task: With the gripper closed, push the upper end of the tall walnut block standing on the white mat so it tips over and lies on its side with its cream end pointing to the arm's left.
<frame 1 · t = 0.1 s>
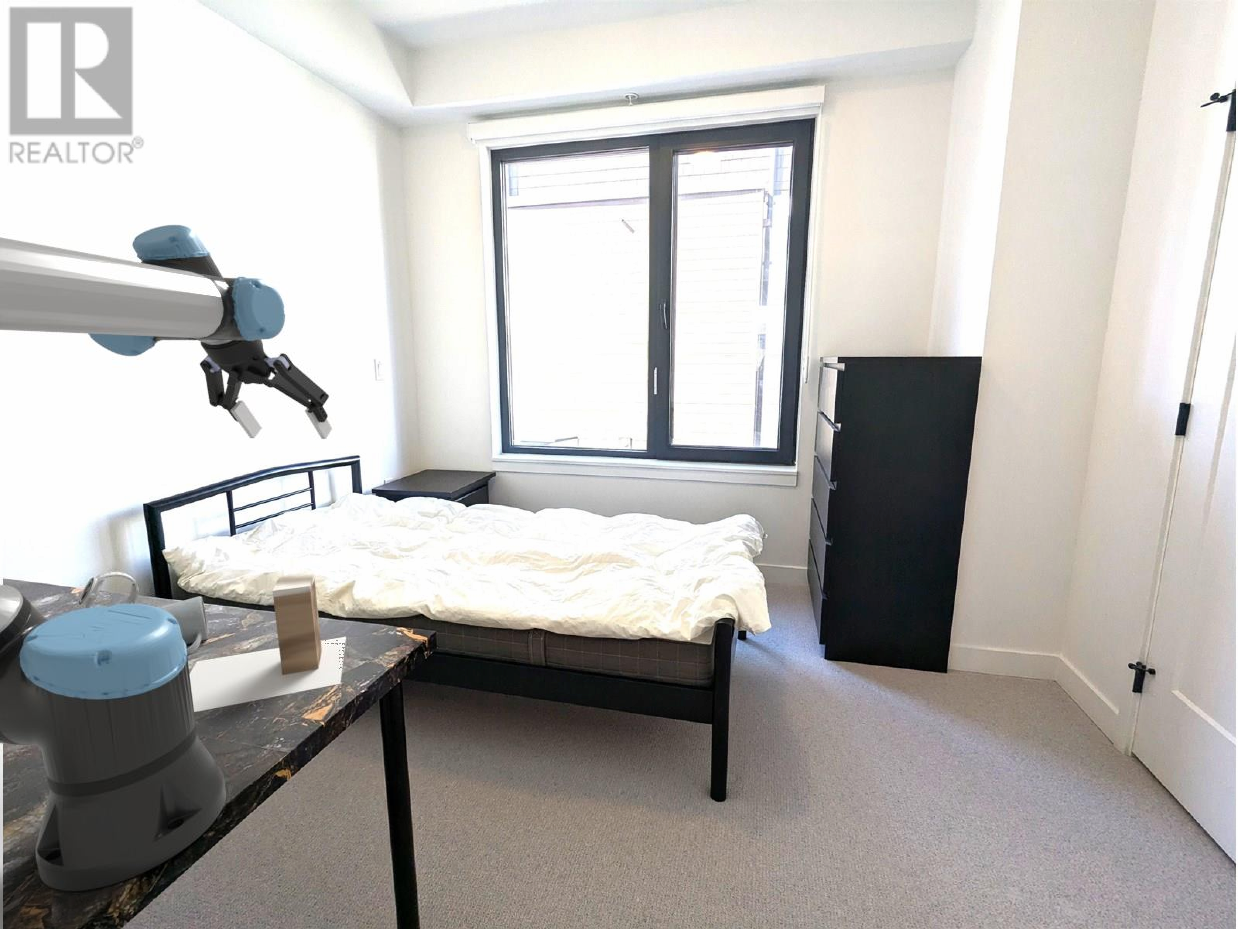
hand: (291, 433, 101), 36 cm above the table, tool tilted 35°, fingers open, 13 cm apart
white mat: (266, 674, 89), on the table
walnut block: (302, 662, 92), resting on white mat
ceramic mug: (183, 647, 98), on the table
watch: (115, 632, 103), on the table
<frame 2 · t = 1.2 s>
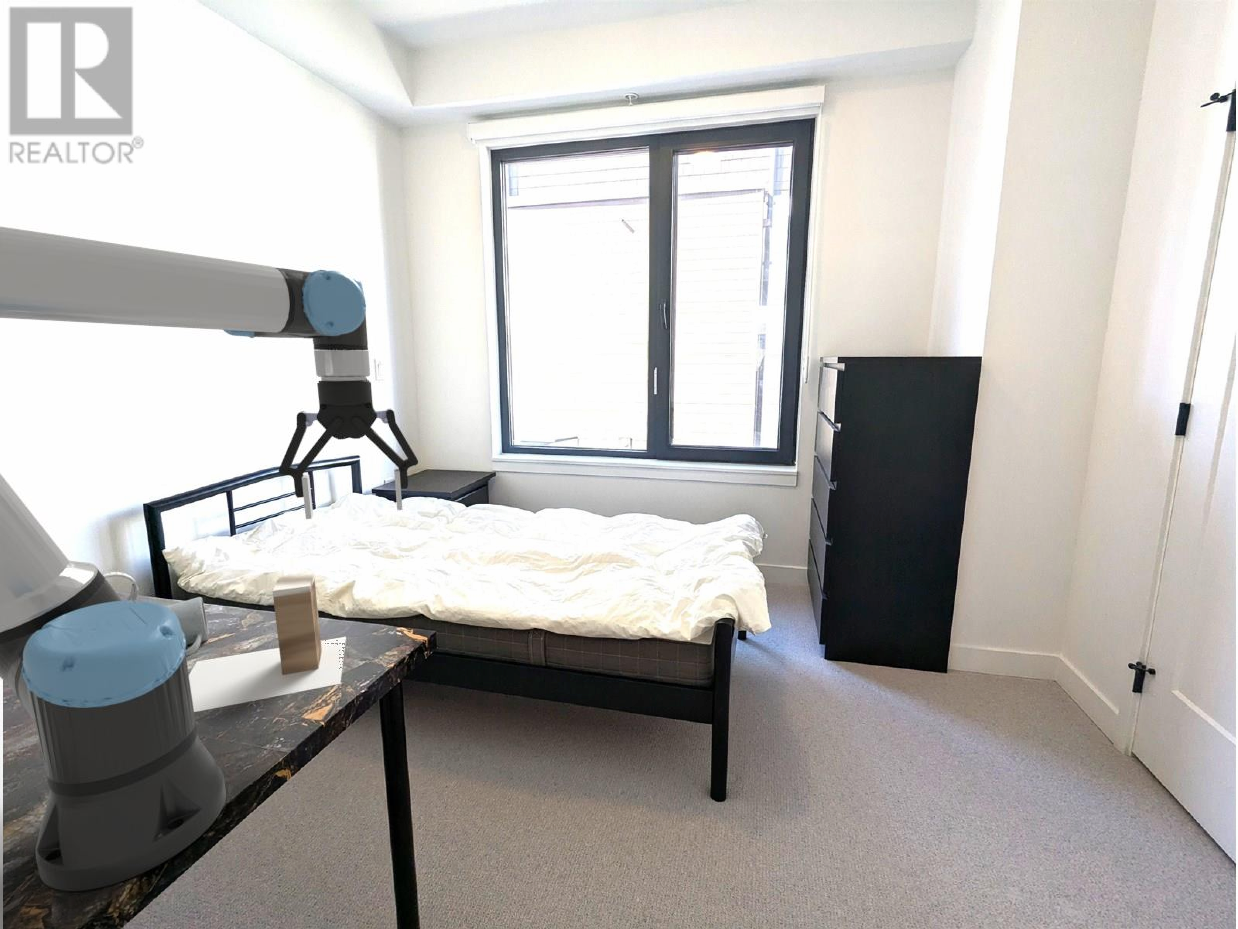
hand: (355, 512, 91), 25 cm above the table, tool pointing down, fingers open, 12 cm apart
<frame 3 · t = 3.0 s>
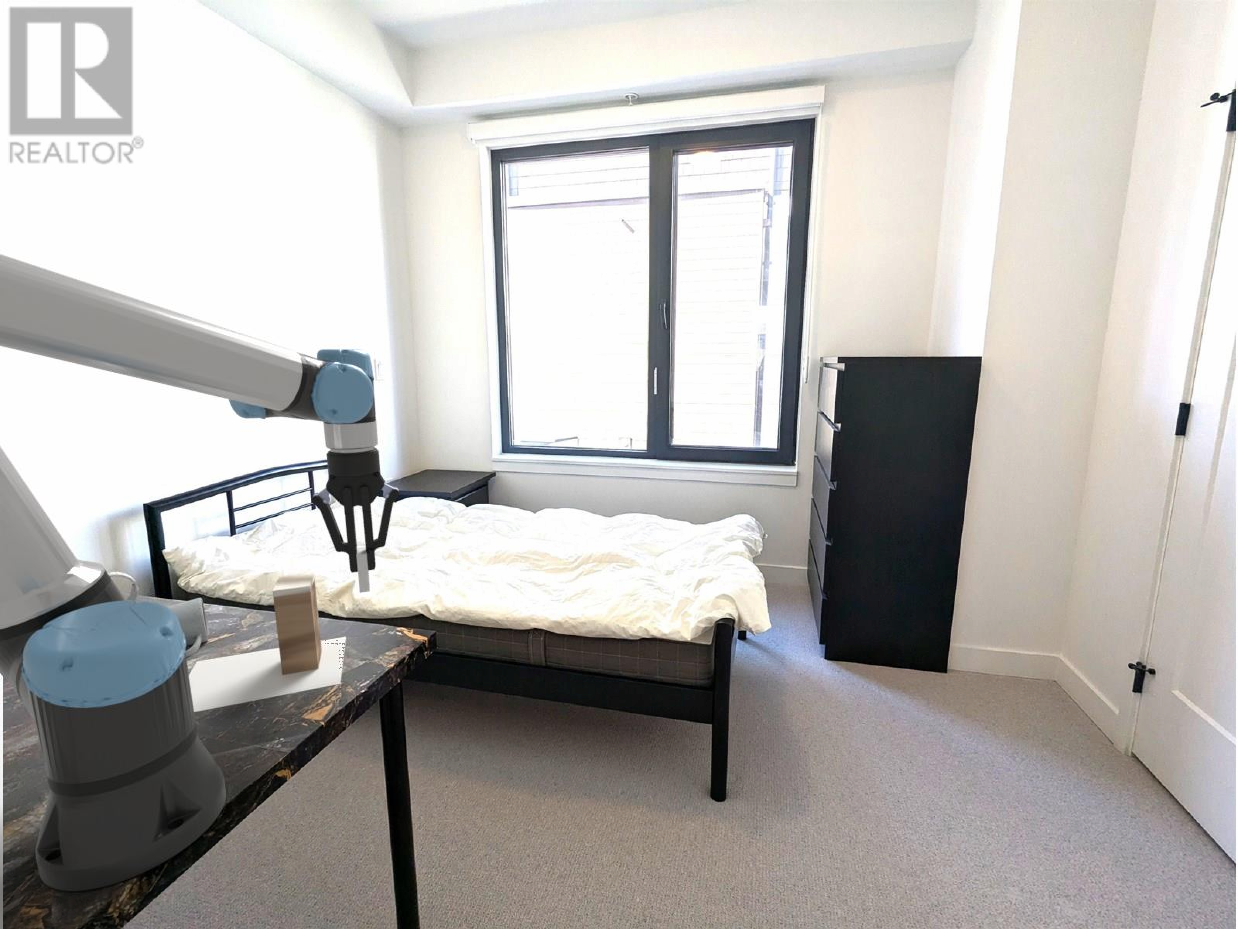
hand: (364, 588, 93), 12 cm above the table, tool pointing down, fingers closed
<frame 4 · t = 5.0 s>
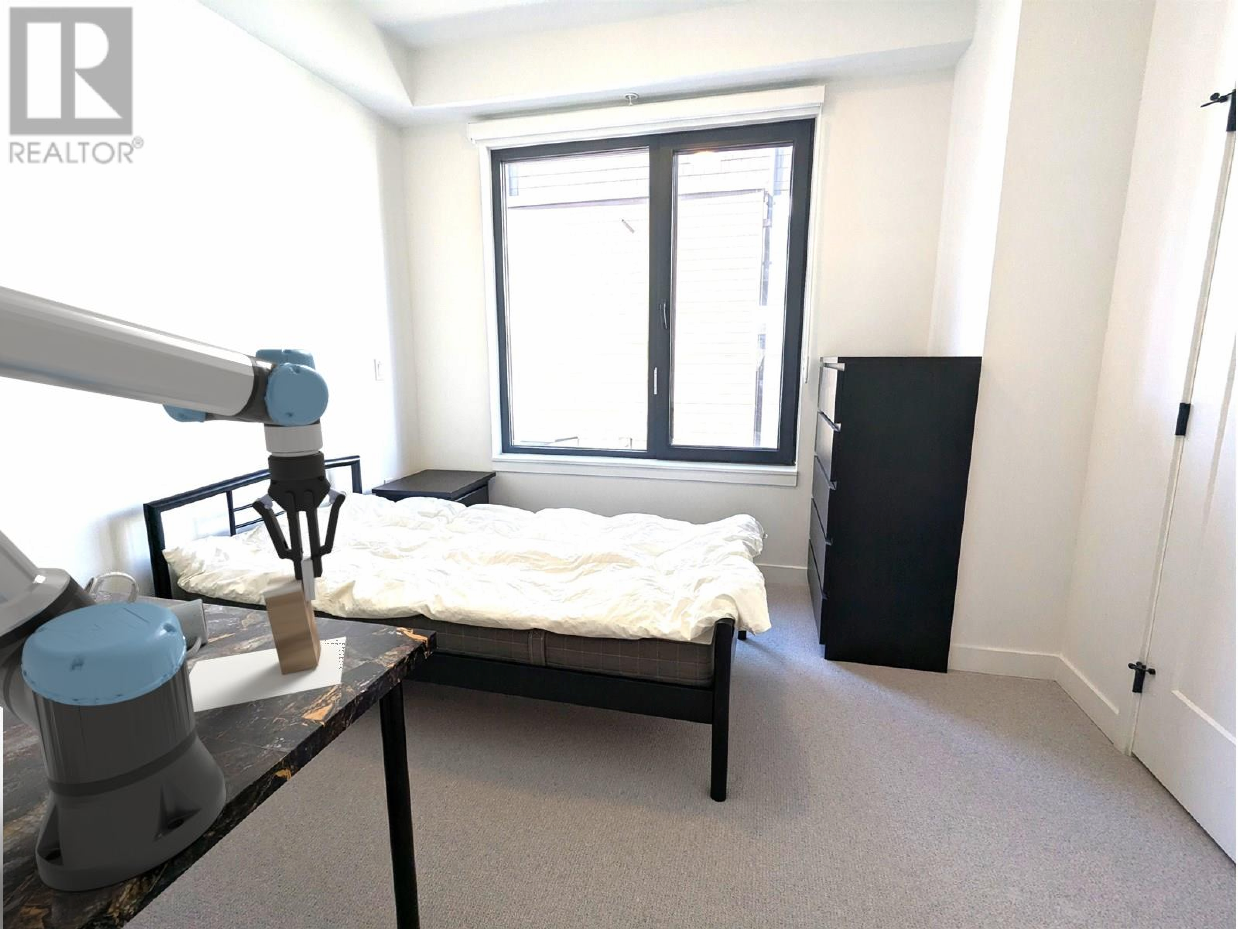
hand: (311, 597, 90), 11 cm above the table, tool pointing down, fingers closed
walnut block: (302, 661, 91), point 1 cm above the table, tilted 5°, touching white mat, gripper
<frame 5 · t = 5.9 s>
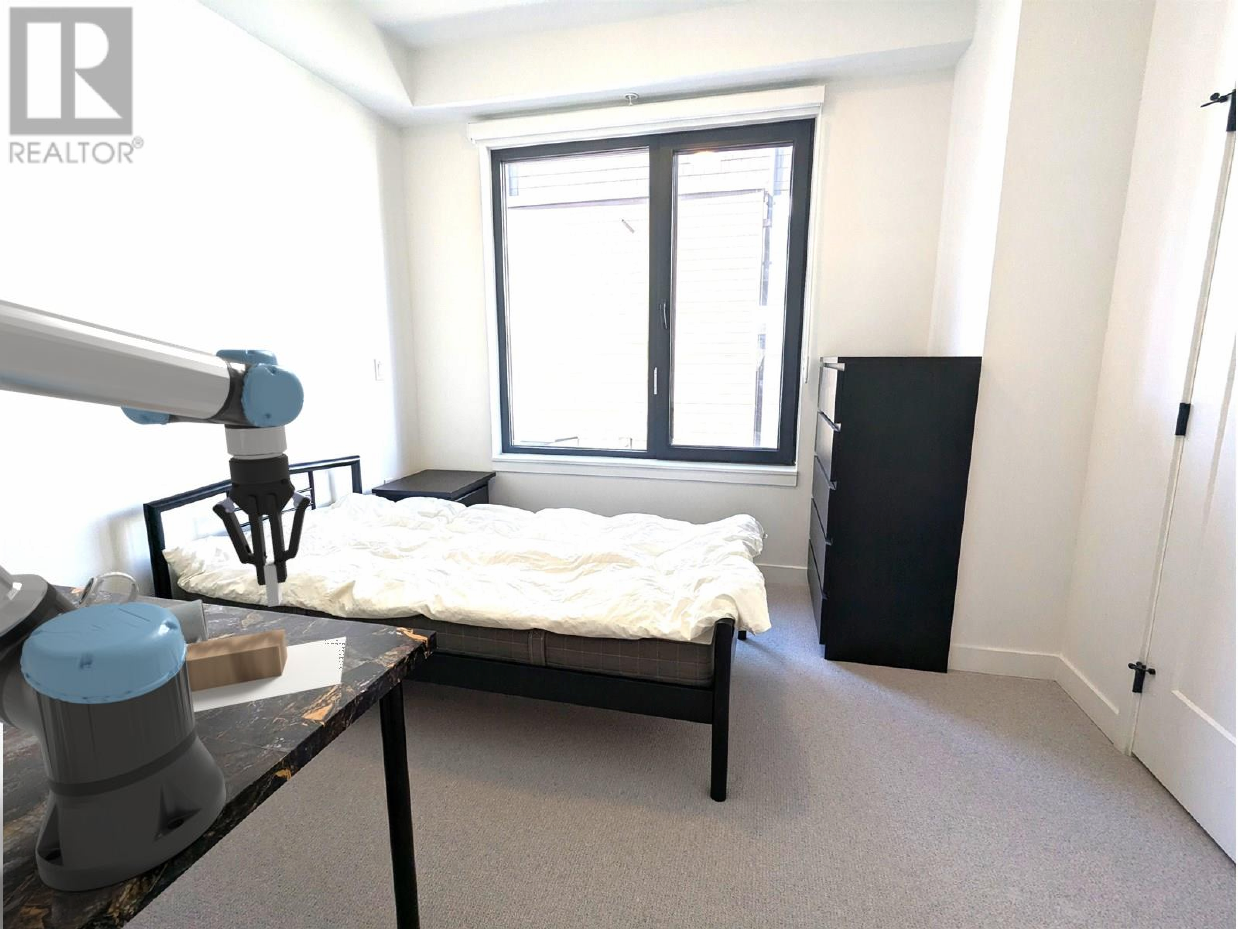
hand: (275, 602, 88), 11 cm above the table, tool pointing down, fingers closed
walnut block: (283, 651, 90), point 3 cm above the table, tilted 90°, touching white mat
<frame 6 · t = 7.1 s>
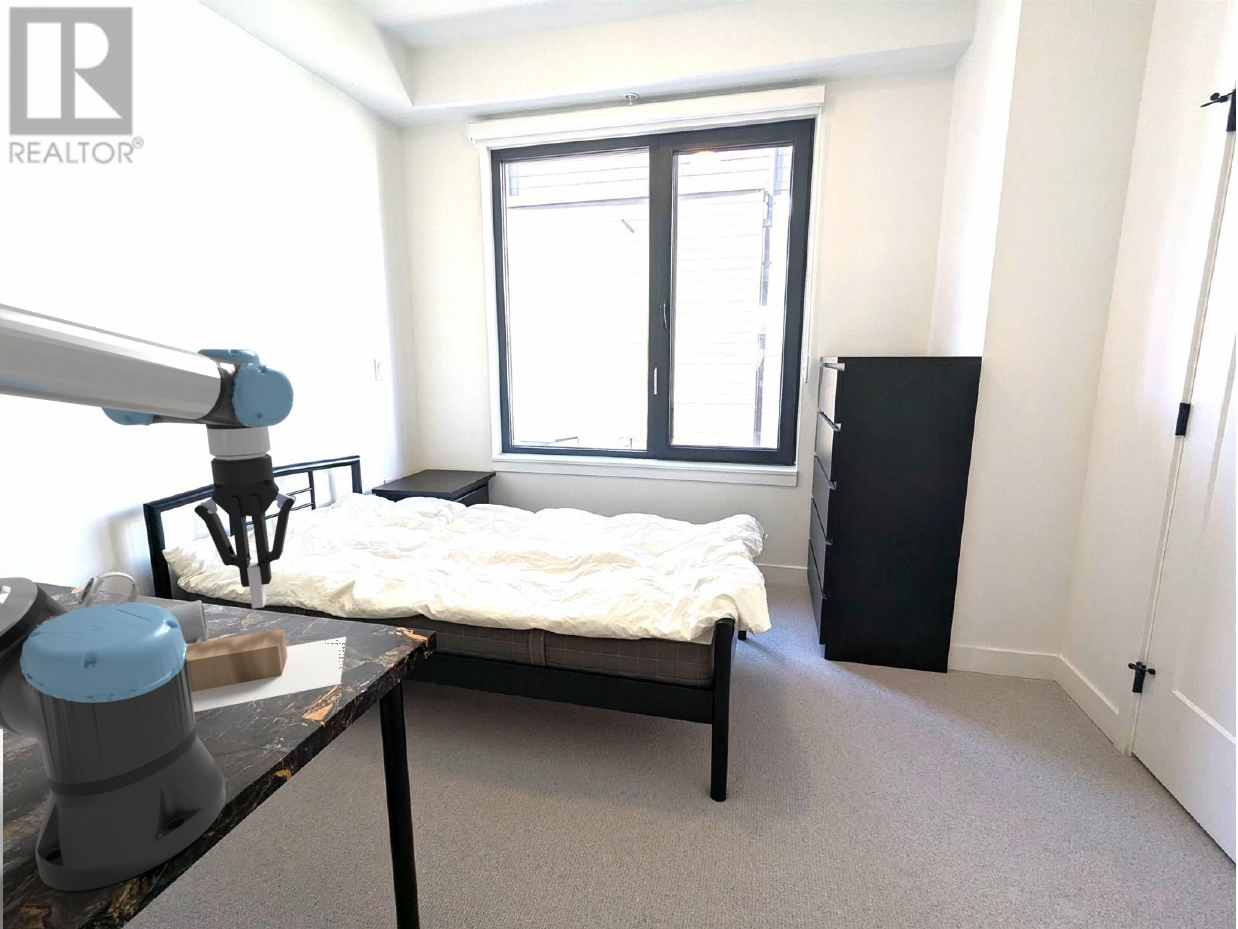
hand: (259, 604, 88), 11 cm above the table, tool pointing down, fingers closed
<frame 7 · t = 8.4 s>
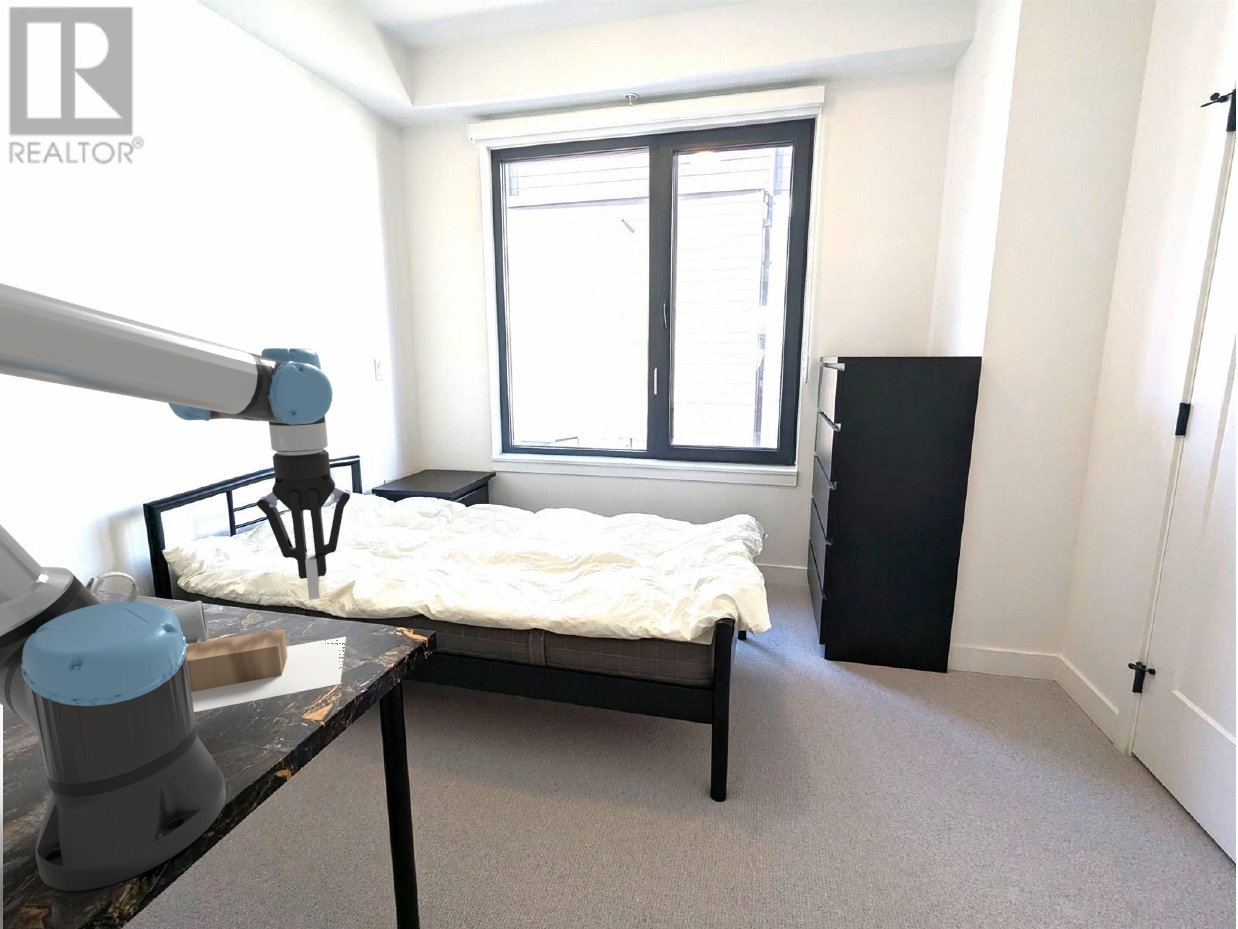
hand: (315, 595, 90), 12 cm above the table, tool pointing down, fingers closed
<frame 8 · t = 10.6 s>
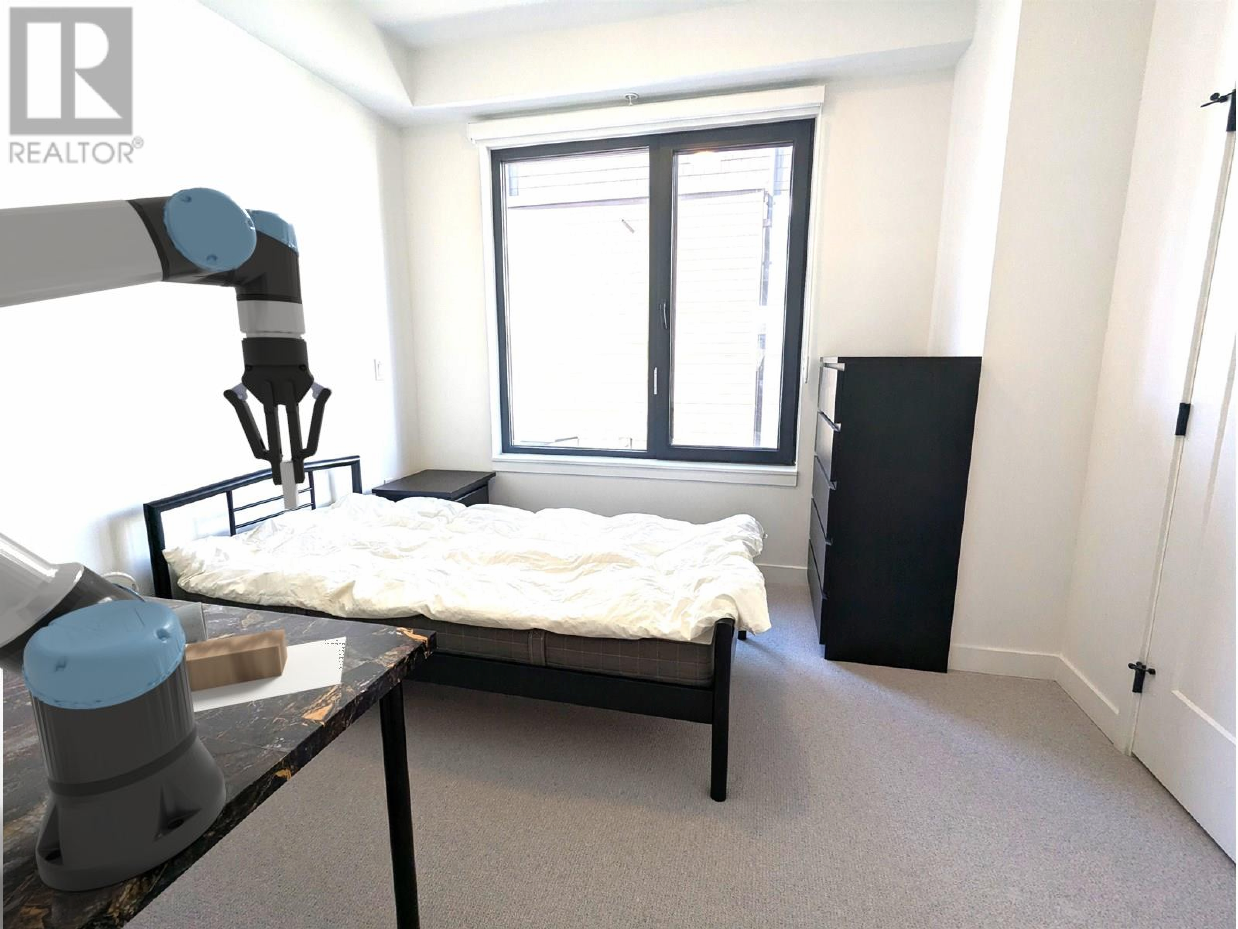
hand: (292, 506, 80), 28 cm above the table, tool pointing down, fingers closed
at the end: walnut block tilted 90°; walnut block inside the target area (2.9 cm from its centre), point 2.9 cm above the table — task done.
